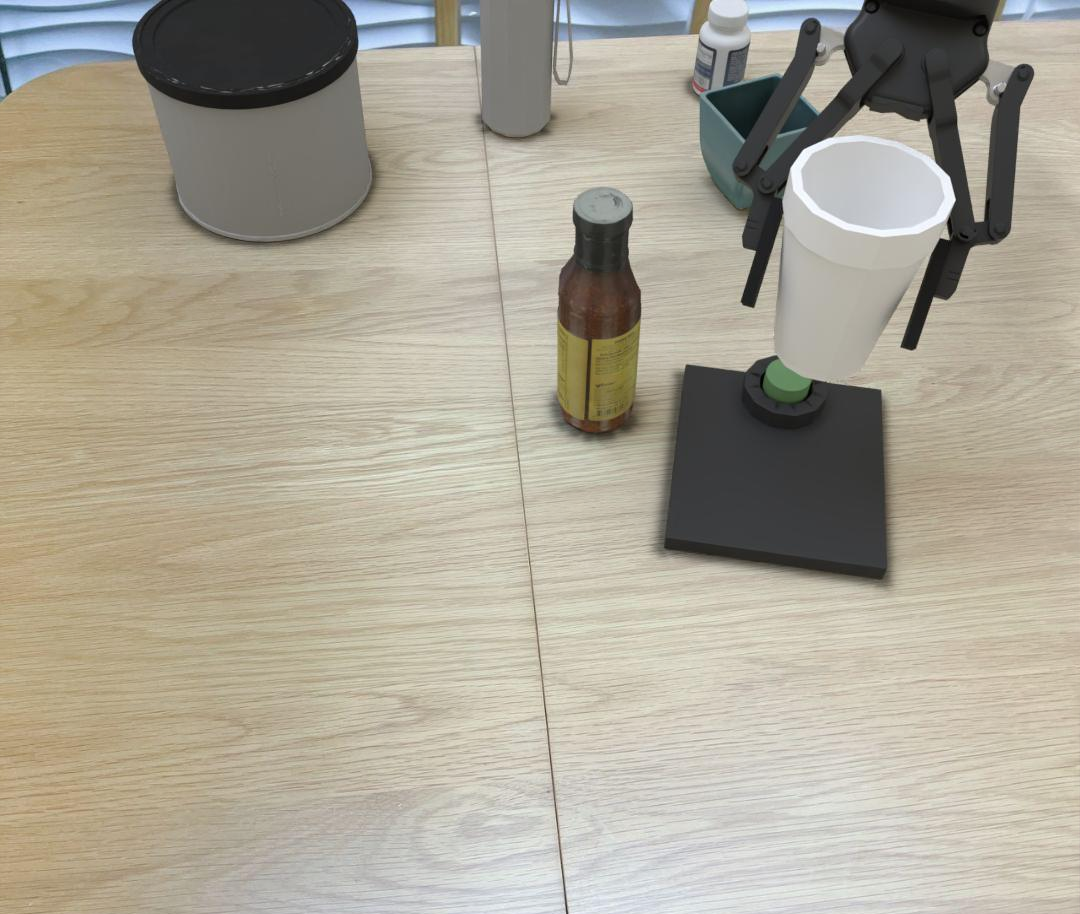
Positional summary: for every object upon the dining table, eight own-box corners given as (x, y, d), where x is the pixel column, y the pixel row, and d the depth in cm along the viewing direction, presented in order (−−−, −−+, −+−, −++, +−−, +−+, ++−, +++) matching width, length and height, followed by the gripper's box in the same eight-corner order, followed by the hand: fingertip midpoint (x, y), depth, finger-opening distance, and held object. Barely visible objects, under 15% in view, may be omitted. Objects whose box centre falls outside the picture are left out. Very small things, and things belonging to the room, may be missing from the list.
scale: (876, 394, 90) (886, 368, 88) (882, 579, 80) (894, 556, 77) (684, 369, 92) (688, 343, 89) (663, 548, 81) (668, 524, 78)
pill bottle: (743, 77, 118) (758, -4, 110) (739, 105, 114) (755, 23, 107) (693, 72, 118) (705, -10, 111) (689, 99, 115) (701, 17, 108)
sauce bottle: (641, 390, 90) (669, 186, 74) (621, 445, 87) (646, 243, 70) (565, 372, 91) (577, 167, 75) (542, 425, 88) (549, 222, 72)
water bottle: (471, 137, 110) (463, -132, 90) (490, 94, 115) (487, -172, 94) (560, 151, 109) (572, -118, 89) (576, 107, 114) (591, -158, 93)
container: (237, 271, 98) (198, 120, 85) (140, 167, 106) (93, 16, 94) (412, 192, 105) (399, 43, 92) (308, 101, 113) (284, -47, 101)
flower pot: (729, 228, 103) (746, 144, 95) (684, 175, 107) (697, 91, 100) (809, 206, 105) (831, 122, 98) (761, 155, 110) (779, 71, 102)
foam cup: (864, 294, 77) (920, 130, 66) (911, 389, 72) (981, 228, 61) (733, 307, 76) (770, 142, 65) (771, 405, 70) (818, 243, 60)
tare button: (808, 375, 88) (812, 361, 87) (807, 407, 86) (811, 393, 85) (763, 369, 88) (767, 355, 87) (761, 401, 86) (765, 387, 85)
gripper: (1124, 12, 66) (996, 376, 70) (765, -61, 70) (664, 286, 74) (1164, -37, 58) (1018, 372, 62) (760, -115, 62) (648, 274, 67)
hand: (826, 326), depth 68 cm, fingers closed on foam cup, 9 cm apart
